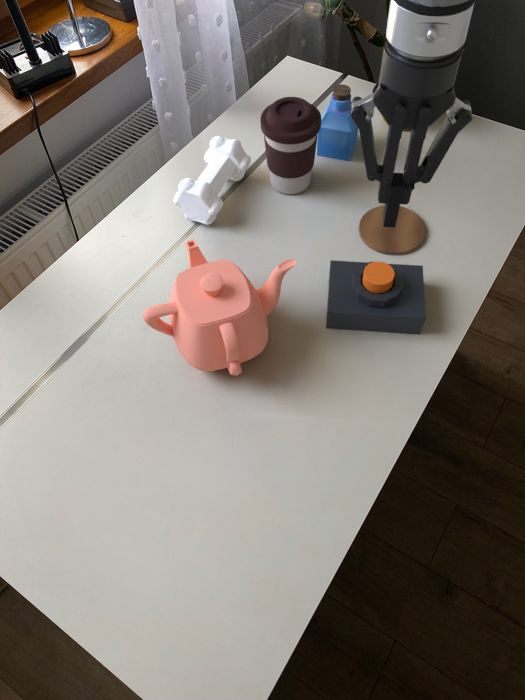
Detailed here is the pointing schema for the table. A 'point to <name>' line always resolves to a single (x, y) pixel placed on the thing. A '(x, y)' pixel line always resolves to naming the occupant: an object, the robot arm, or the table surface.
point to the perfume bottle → (338, 126)
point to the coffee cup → (290, 142)
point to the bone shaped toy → (212, 180)
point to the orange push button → (378, 277)
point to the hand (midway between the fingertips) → (389, 219)
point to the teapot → (217, 312)
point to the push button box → (375, 300)
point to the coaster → (392, 232)
